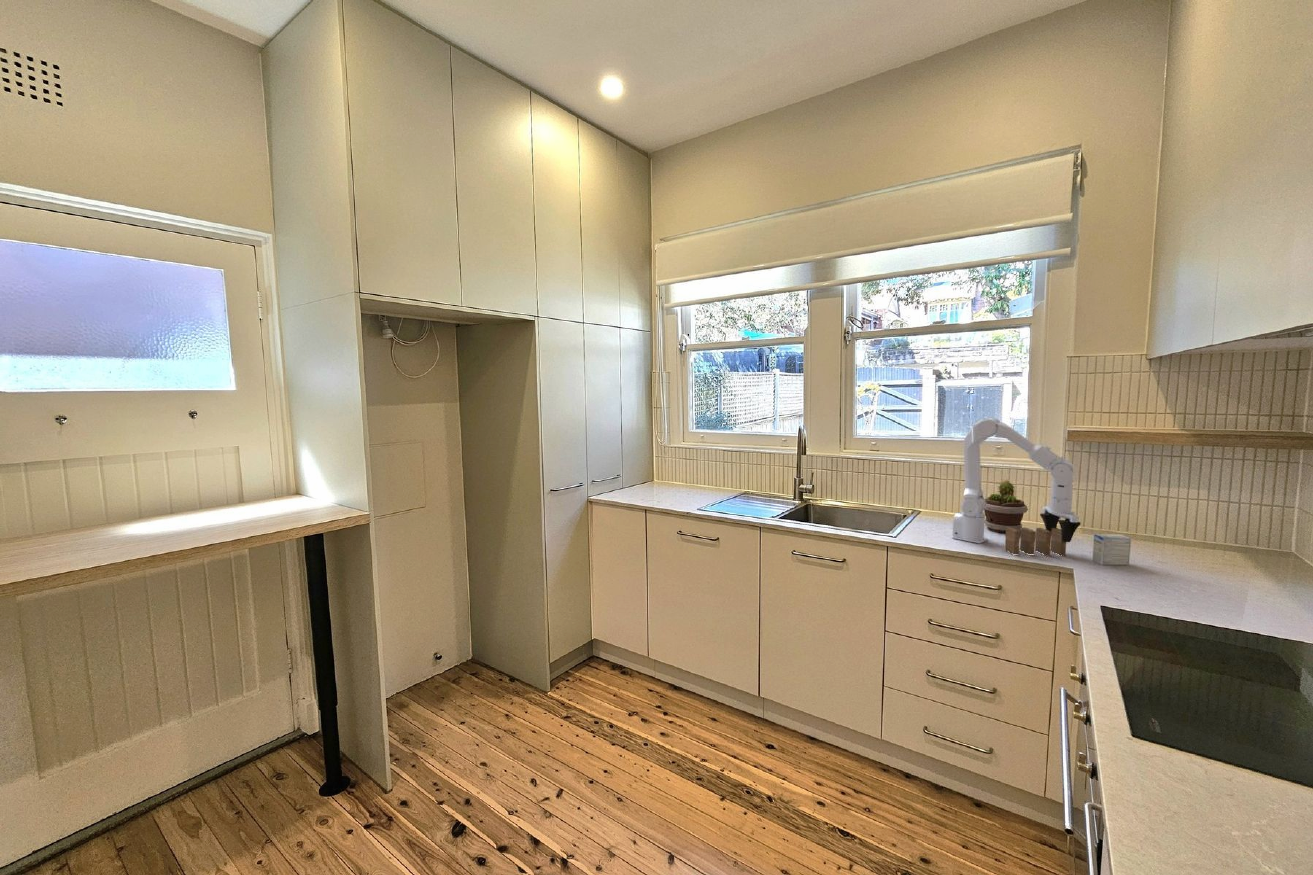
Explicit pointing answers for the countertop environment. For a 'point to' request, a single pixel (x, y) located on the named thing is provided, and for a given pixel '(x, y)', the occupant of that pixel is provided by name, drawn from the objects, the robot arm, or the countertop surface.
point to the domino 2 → (1027, 540)
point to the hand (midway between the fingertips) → (1058, 538)
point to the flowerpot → (1004, 509)
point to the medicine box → (1111, 549)
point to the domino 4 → (1057, 542)
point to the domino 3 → (1043, 541)
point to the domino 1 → (1012, 540)
